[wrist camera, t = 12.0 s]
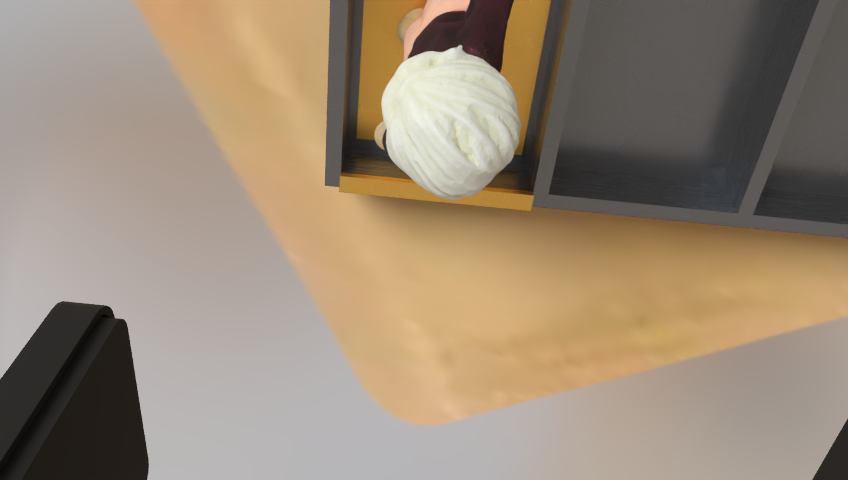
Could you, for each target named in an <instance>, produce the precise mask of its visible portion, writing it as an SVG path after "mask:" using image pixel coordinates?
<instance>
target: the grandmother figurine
mask: <svg viewBox="0 0 848 480" xmlns="http://www.w3.org/2000/svg"><path fill="white" fill-rule="evenodd" d="M513 2H514V0H427V2H426V5H425V7H424V9H423V8H417V9H414V10H411V11H410V12H408V13H407V14H406V15H405V16H404V17H403V19H402V20H401V22H400V24H399V26H398V36H399V38H400V40H401V42H402V43H403V45H404V62H403V63H402V64H401V65H400V66H399V67H398V69H397V71H396V73H395V74H394V76H393V77H392V79H391V80H390V82H389V83H388V85H387V86H386V88H385V90H384V93H383V96H382V102H381V106H382V114H383V120H384V121H383V122H381V123H380V124H379V125H378V126H377V128H376V130H375V134H374V135H375V141H376V143H377V145H378V146H379V147H380V148H381V149H383V150H385V151H386V153H387V154H388V155H389V156H390V158H391V160H392V161H393V162H394V163H395V164H396V165H397V166H398V167H399V168H400V169H401V170H403V171H404V172H405V173H406V174H407V175H408V176H409V177H410V178H411V179H412V180H414V181H415V182H416V183H417V184H418V185H419V186H420V187H422V188H423V189H425V190H427V191H428V192H430V193H432V194H433V195H435V196H437V197H440V198H445V199H450V200H456V199H460V198H463V197H464V196H473V195H475V194H477V193H478V192H479V191H481V190H482V189H483V188H484V187H485V186H486V185H487V184H489V183H490V182H491V181H492V179H493V178H494V177H495V175H496V174H497V173H499V172H500V171H501V170H503V169H504V167H505V166H506V165H508V164H509V163H510V162H511V160H512V159H513V157H514V152H515V150H516V149H517V147H518V144H519V135H520V129H521V123H520V119H519V116H518V108H517V102H516V97H515V92H514V90H513V89H512V87H511V85H510V84H509V83H508V81H507V80H506V79H505V78H504V77H503V76H502V75H501V74H500V72H501V69H502V63H503V52H504V41H505V35H506V29H507V22H508V19H509V16H510V13H511V9H512V5H513Z"/></svg>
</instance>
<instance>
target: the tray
mask: <svg viewBox="0 0 848 480" xmlns="http://www.w3.org/2000/svg"><path fill="white" fill-rule="evenodd" d="M426 2H427V0H330V28H329V62H328V97H327V132H326V167H325V186H335V187H339V192H345V193H355V194H365V195H375V196H385V197H395V198H405V199H415V200H425V201H435V202H445V203H455V204H465V205H475V206H485V207H495V208H505V209H515V210H525V211H531V208H532V206H534V207H544V208H554V209H564V210H574V211H584V212H594V213H604V214H614V215H624V216H633V217H643V218H653V219H663V220H673V221H683V222H693V223H703V224H713V225H723V226H733V227H743V228H753V229H763V230H773V231H783V232H793V233H803V234H813V235H823V236H833V237H843V238H848V0H514V2H513V5H512V9H511V13H510V16H509V19H508V22H507V29H506V35H505V41H504V52H503V63H502V69H501V72H500V74H501V75H502V76H503V77H504V78H505V79H506V80H507V81H508V83H509V84H510V85H511V87H512V89H513V90H514V92H515V97H516V102H517V108H518V116H519V119H520V123H521V129H520V135H519V144H518V147H517V149H516V150H515V152H514V157H513V159H512V160H511V162H510V163H509V164H508V165H506V166H505V167H504V169H503V170H501V171H500V172H499V173H497V174H496V175H495V177H494V178H493V179H492V181H491V182H490V183H489V184H487V185H486V186H485V187H484V188H483V189H482V190H481V191H479V192H478V193H477V194H475V195H473V196H464V197H463V198H460V199H456V200H450V199H445V198H440V197H437V196H435V195H433V194H432V193H430V192H428V191H427V190H425V189H423V188H422V187H420V186H419V185H418V184H417V183H416V182H415V181H414V180H412V179H411V178H410V177H409V176H408V175H407V174H406V173H405V172H404V171H403V170H401V169H400V168H399V167H398V166H397V165H396V164H395V163H394V162H393V161H392V160H391V158H390V156H389V155H388V154H387V153H386V151H385V150H383V149H381V148H380V147H379V146H378V145H377V143H376V141H375V135H374V134H375V130H376V128H377V126H378V125H379V124H380V123H381V122H383V121H384V120H383V114H382V106H381V102H382V96H383V93H384V90H385V88H386V86H387V85H388V83H389V82H390V80H391V79H392V77H393V76H394V74H395V73H396V71H397V69H398V67H399V66H400V65H401V64H402V63H403V62H404V45H403V43H402V42H401V40H400V38H399V36H398V26H399V24H400V22H401V20H402V19H403V17H404V16H405V15H406V14H407V13H408V12H410V11H411V10H414V9H417V8H423V9H424V7H425V5H426Z"/></svg>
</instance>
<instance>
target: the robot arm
mask: <svg viewBox="0 0 848 480" xmlns="http://www.w3.org/2000/svg"><path fill="white" fill-rule="evenodd" d="M148 468H149V463H148V455H147V449H146V442H145V435H144V429H143V423H142V416H141V410H140V403H139V397H138V391H137V384H136V379H135V372H134V365H133V358H132V352H131V346H130V340H129V333H128V327H127V323H126V322H125V320H123V319H115V317H114V314H113V311H112V309H111V308H110V307H108V306H104V305H93V304H83V303H73V302H64V301H62V302H60V303H57V305H55V307H54V308H53V309H52V310H51V311H50V313H49V314H48V315H47V317H46V318H45V319H44V321H43V322H42V324H41V325H40V326H39V328H38V329H37V330H36V332H35V333H34V334H33V336H32V337H31V338H30V340H29V341H28V343H27V344H26V345H25V347H24V348H23V349H22V351H21V352H20V353H19V355H18V356H17V358H16V359H15V360H14V362H13V363H12V364H11V366H10V367H9V369H8V370H7V371H6V373H5V374H4V375H3V377H2V378H1V379H0V480H147V476H148ZM813 480H848V419H847V421H846V423H845V424H844V426H843V428H842V430H841V431H840V433H839V435H838V436H837V438H836V440H835V442H834V443H833V445H832V447H831V449H830V450H829V452H828V454H827V455H826V457H825V459H824V461H823V462H822V464H821V466H820V467H819V469H818V471H817V473H816V474H815V476H814V478H813Z"/></svg>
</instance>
